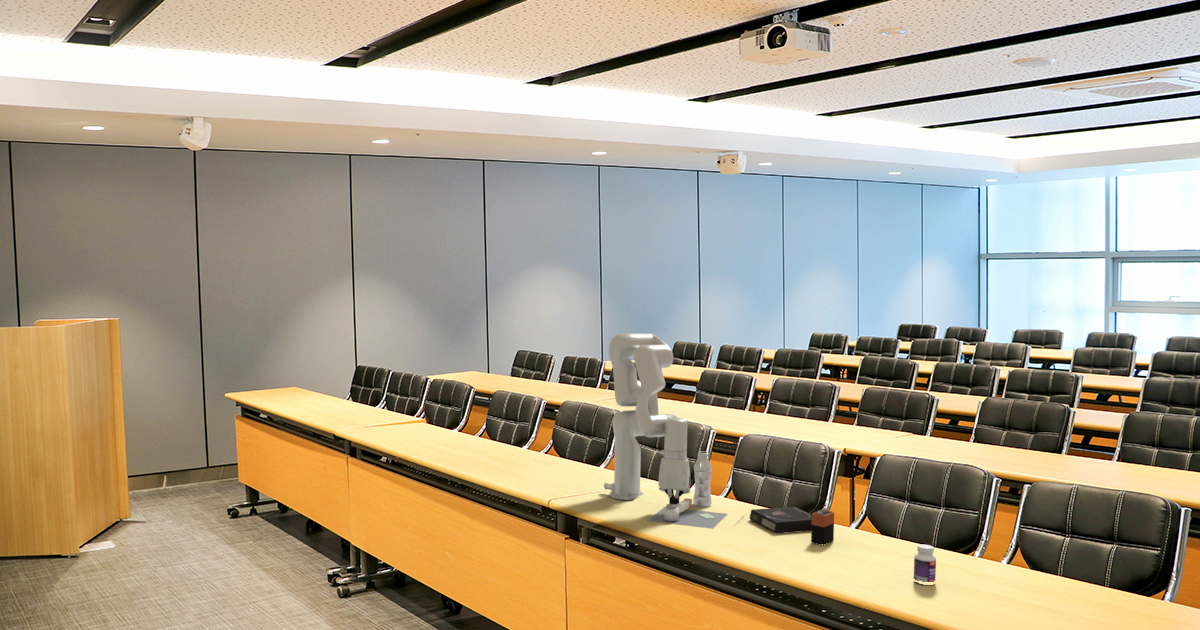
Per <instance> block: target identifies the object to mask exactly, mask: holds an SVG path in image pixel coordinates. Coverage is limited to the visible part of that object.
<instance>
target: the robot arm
mask: <svg viewBox="0 0 1200 630" xmlns="http://www.w3.org/2000/svg"><path fill="white" fill-rule="evenodd" d="M608 355H609V359H610V363H611V366H612V372H613V384H614V397H615V398H614V399H615V403H616V404H617V405H618V406H619V407H623V408H624V407H625V408H627V407H628V408H629V407H631V408H633V407H635V409H631V410H630V409H629V410H622V411H619V412H617V413H616V414H615V415H614V416H613V418H612V431H613V436H614V480H613V481H614V482H613V483H609V482H605V483H604V484H603V488H604V490H610V492H609V496H610V498H612V499H614V500H622V501H635V500H636V499H638V498H639V497H641V496H642V495H645V494H644V492H643V491H641V462H642V461H641V459H642V457H641V456H642V455H641V449H642V448H641V446H640V443H639V441H637V439H636V437H643V436H644V437H646V438H658V437H659V438H661V437H664V444H663V445H664V449H661V450H660V451H659V453H660V455H663V457H661V461H660V464H659V470H658V471H659V472H658V490H659V491H662V492H665V494H666V495H667V497H668V498H669V499H668V500H669V501H668V502H669V503H668V504H675V505H676V504H678V503H680V497H682V495H686V494H690V493H691V488H690V487H691V468H690V462H689V459H688V458H687V457H688V456H687V455H688V453H687V452H688V450H687V449H688V421H687V420H686V418H682V417H678V416H677V415H675V414H673V413H666V414H665V413H663V414H662V413H661V414H659V413H660V412H659V400H658V393H660V392H661V391H662V390H664V388H665V387H666V380H665V376H664V374H663V368H664V369H665V368H667V369H668V368H670V367H671V366H672V365H673V363H674V353H673V350H672V349H671V347H670V346H669V344H667V343H666V342H665V341H663V339H661V338H660V337H658V336H657V335H656V334H654V333H649V332H624V333H623V332H622V333H618V334H616V335H614V336H612V337H611V339H610V341H609V345H608ZM630 357H633V360H634V362H633V360H632V359H631V358H630Z"/></svg>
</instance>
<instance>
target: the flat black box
mask: <svg viewBox="0 0 1200 630" xmlns="http://www.w3.org/2000/svg"><path fill="white" fill-rule="evenodd" d="M750 510H751V511H750V514H749V519H750V521H751V522H753V523H755V524H756V525H758V526H760V527H762V528H763V529H766V530H768V531H769V532H771V531H772V533H773V532H774V534H775V533H776V534H785V533H784V532H789V533H796V532H795V531H802V532H811V528H812V514H813V513H812V514H811V513H810V512H807V511H805V510H803V509H801V508H798V507H796V506H789V507H788V506H787V507H771V508H757V509H756V508H755V509H754V508H753V509H750Z"/></svg>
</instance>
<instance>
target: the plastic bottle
mask: <svg viewBox="0 0 1200 630" xmlns="http://www.w3.org/2000/svg"><path fill="white" fill-rule="evenodd" d="M709 457H710V456H709V451H706V450H705V451H700V450H699V451H698V453H697V458H698V459H697V460H696V462H695V463H694V465H693V470H694V471H693V473H694V482H695V483H694V494H693V499H692V506H693V507H697V508H710V507H711V506H712V503H713V502H712V495H711V478H712V474H713V473H712V472H713V466H712V463H711V462H710V460H709Z"/></svg>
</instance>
